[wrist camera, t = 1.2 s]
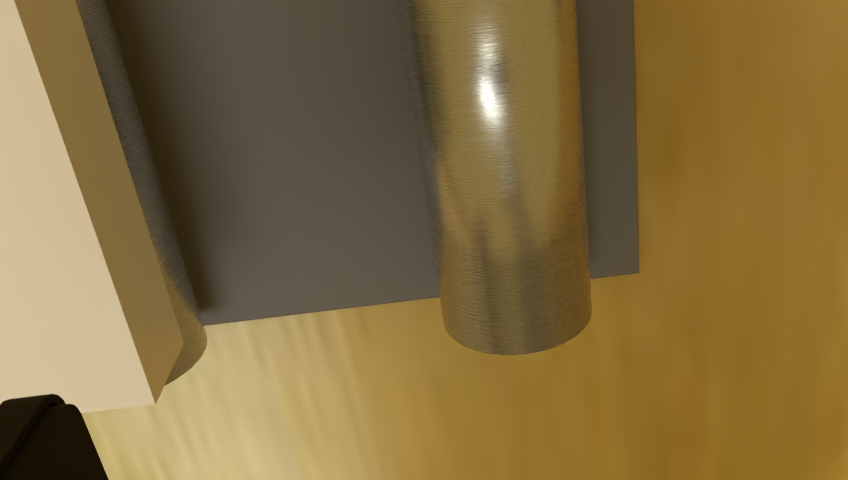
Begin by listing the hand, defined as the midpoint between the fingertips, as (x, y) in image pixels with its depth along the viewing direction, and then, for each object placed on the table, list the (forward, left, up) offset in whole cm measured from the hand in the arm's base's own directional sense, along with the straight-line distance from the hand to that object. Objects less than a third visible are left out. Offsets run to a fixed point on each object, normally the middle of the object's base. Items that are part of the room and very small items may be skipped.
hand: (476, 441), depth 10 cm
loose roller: (0, -1, -18) cm, 18 cm away
